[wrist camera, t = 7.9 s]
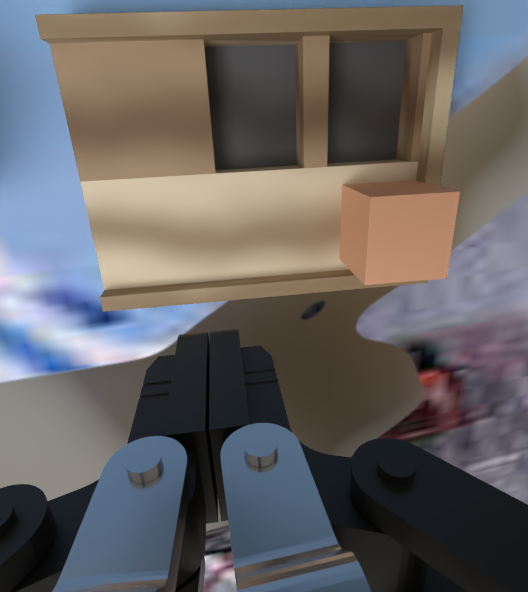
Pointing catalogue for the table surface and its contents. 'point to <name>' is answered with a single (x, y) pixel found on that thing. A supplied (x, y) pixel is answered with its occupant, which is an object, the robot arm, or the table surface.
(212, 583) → the table surface
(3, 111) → the table surface
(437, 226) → the block
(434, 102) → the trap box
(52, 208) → the table surface
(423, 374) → the table surface
